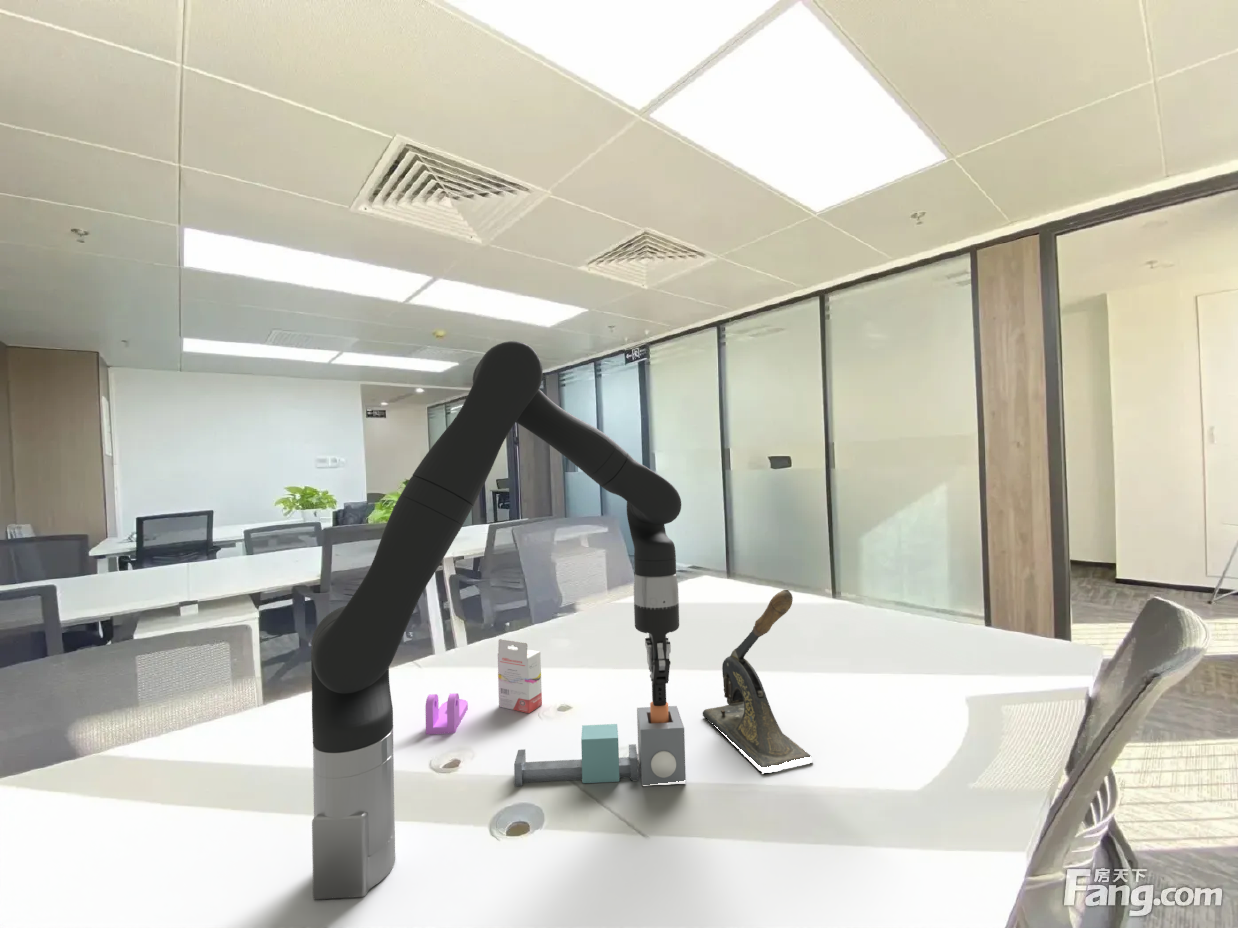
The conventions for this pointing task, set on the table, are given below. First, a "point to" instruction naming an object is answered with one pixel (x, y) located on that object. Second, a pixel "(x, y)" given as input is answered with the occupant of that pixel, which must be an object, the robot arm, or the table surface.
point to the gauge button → (659, 713)
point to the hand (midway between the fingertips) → (659, 703)
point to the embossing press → (753, 699)
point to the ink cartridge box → (519, 676)
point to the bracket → (444, 714)
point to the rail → (566, 768)
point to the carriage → (600, 753)
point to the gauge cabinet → (661, 747)
